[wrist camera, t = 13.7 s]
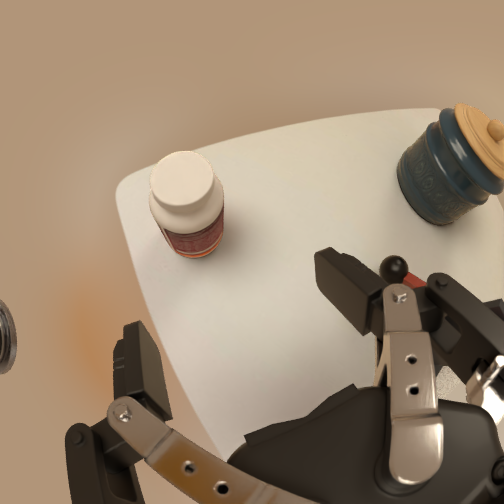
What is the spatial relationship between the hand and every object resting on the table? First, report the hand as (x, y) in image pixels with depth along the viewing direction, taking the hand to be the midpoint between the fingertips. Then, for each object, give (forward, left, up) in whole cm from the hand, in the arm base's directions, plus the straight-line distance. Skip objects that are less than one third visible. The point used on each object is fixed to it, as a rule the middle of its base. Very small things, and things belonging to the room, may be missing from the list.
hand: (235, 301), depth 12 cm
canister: (+34, -8, -16) cm, 38 cm away
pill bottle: (+4, +9, -16) cm, 19 cm away
